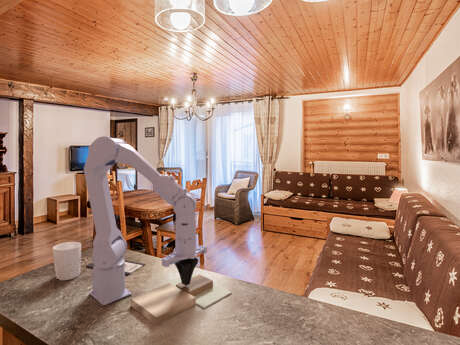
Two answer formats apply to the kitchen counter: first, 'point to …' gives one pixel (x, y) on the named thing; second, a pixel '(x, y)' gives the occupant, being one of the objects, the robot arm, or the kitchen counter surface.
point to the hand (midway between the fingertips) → (185, 283)
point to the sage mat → (207, 294)
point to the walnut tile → (196, 285)
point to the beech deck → (163, 303)
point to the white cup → (67, 260)
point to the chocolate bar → (126, 266)
